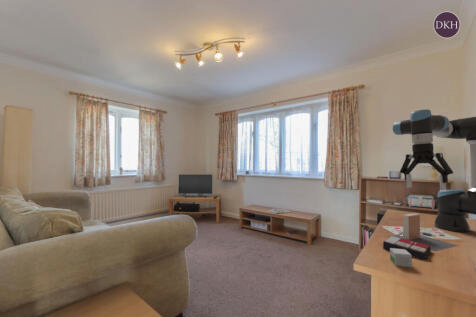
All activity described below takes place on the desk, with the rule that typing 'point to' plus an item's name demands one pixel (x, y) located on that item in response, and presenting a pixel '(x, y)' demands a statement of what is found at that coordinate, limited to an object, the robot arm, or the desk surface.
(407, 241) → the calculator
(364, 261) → the desk surface
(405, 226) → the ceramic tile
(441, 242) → the tile mat
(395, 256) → the small box
